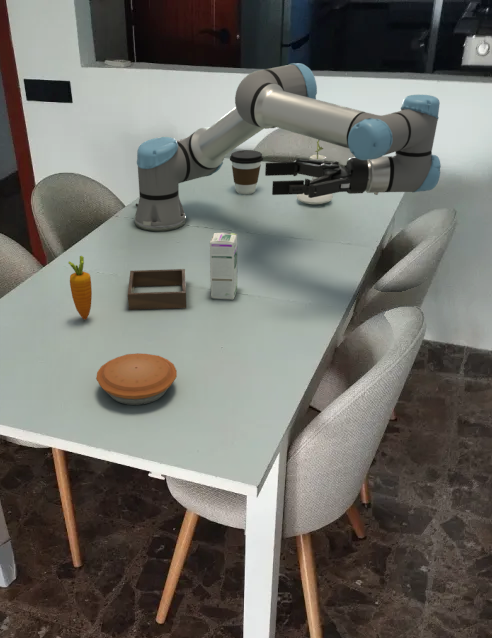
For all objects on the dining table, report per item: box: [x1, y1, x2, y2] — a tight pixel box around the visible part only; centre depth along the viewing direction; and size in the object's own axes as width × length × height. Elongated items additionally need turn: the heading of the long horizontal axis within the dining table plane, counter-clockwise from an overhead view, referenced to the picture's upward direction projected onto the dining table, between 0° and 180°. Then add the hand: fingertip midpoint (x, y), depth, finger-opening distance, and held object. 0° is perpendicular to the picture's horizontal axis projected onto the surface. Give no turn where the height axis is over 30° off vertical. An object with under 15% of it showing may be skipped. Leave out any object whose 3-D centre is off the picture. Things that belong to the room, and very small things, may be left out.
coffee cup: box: [229, 149, 264, 195], centre depth 230 cm, size 11×11×12 cm
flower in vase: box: [296, 139, 334, 205], centre depth 216 cm, size 13×11×25 cm
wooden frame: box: [127, 268, 187, 311], centre depth 169 cm, size 14×14×4 cm
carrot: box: [67, 255, 93, 321], centre depth 157 cm, size 5×5×15 cm
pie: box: [95, 353, 178, 406], centre depth 136 cm, size 15×16×5 cm
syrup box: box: [209, 232, 238, 301], centre depth 166 cm, size 6×6×14 cm
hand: (268, 178), depth 154 cm, fingers open, 13 cm apart
